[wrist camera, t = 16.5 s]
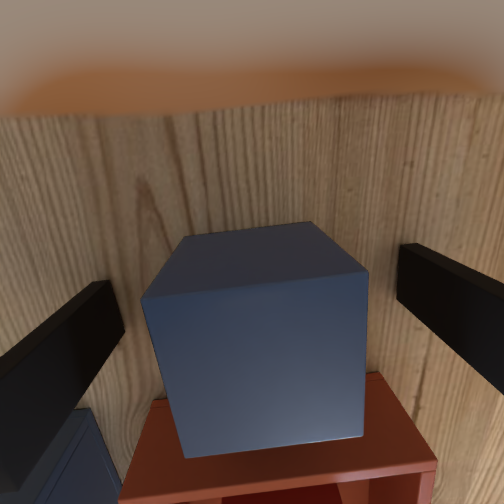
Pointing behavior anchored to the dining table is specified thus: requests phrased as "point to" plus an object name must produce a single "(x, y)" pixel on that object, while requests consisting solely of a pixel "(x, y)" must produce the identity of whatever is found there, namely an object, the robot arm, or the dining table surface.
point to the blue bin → (71, 468)
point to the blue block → (260, 339)
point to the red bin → (289, 461)
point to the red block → (291, 496)
